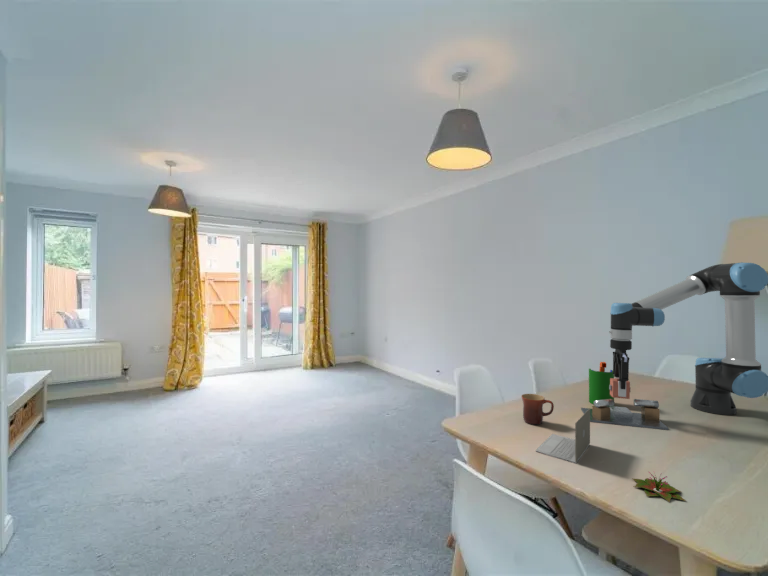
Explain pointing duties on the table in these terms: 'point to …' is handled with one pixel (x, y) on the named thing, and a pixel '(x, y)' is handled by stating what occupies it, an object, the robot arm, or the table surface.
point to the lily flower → (664, 486)
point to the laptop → (569, 442)
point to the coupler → (614, 389)
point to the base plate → (634, 415)
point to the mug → (534, 408)
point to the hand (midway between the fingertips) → (620, 394)
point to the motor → (600, 384)
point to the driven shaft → (602, 409)
